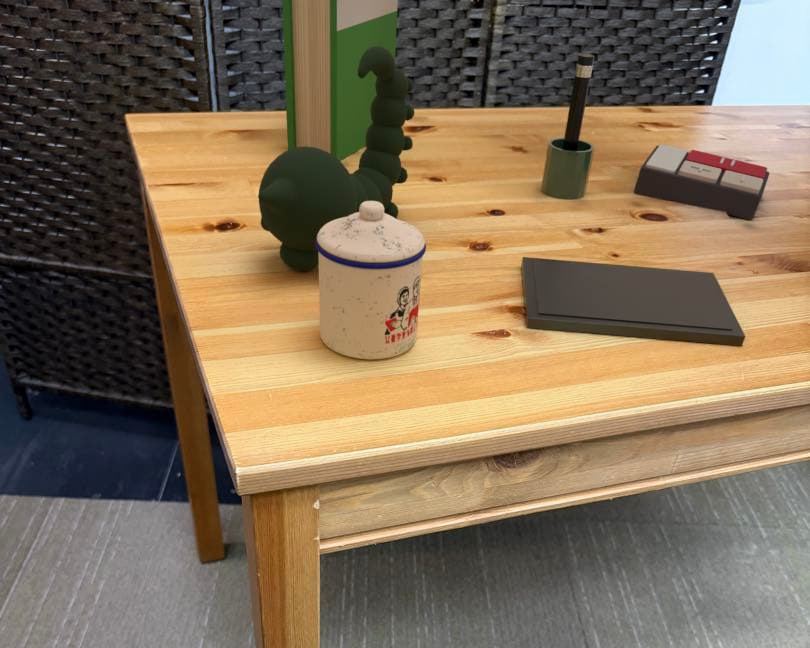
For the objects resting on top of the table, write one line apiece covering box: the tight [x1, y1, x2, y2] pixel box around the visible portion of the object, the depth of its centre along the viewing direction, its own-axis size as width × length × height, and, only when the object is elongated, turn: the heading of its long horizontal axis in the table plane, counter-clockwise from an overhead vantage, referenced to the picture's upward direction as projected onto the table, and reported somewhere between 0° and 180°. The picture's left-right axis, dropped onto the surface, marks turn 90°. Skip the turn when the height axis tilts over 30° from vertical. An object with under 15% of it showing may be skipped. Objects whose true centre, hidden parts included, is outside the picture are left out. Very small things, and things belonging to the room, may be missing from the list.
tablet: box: [521, 256, 746, 347], centre depth 80 cm, size 20×14×1 cm
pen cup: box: [540, 137, 596, 201], centre depth 101 cm, size 6×6×6 cm
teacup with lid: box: [315, 201, 427, 360], centre depth 70 cm, size 12×9×12 cm
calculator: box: [633, 143, 771, 221], centre depth 104 cm, size 11×4×15 cm
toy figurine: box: [257, 46, 415, 272], centre depth 81 cm, size 9×19×25 cm
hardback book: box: [281, 0, 399, 162], centre depth 107 cm, size 18×7×24 cm, turn 156°
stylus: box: [562, 53, 595, 151], centre depth 98 cm, size 2×2×15 cm
